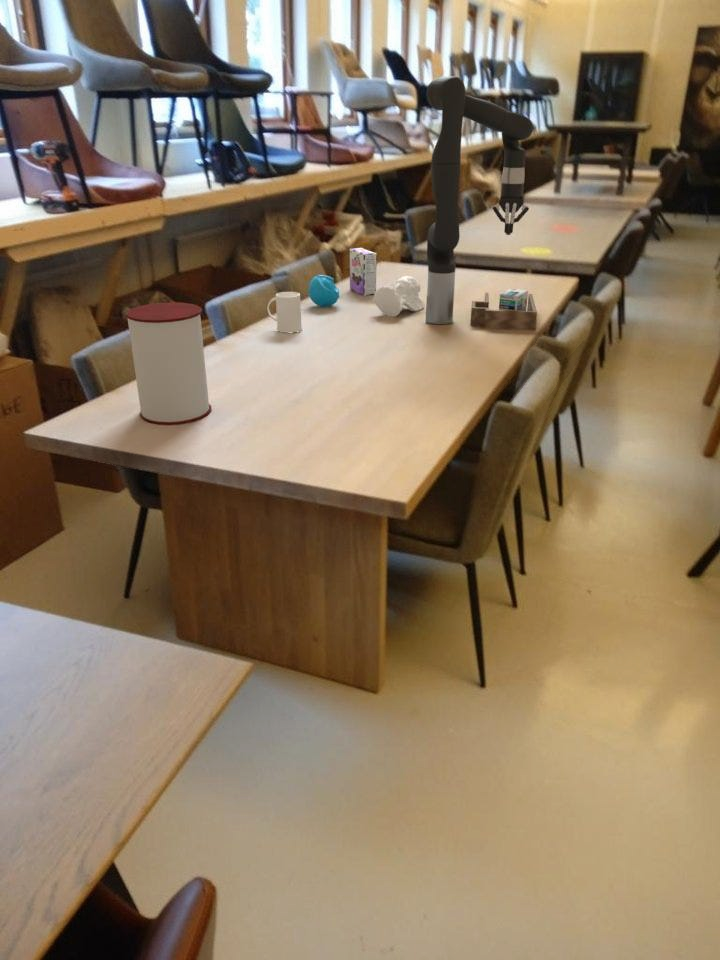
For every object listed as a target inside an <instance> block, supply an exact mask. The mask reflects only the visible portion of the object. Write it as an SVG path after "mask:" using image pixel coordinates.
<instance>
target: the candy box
mask: <svg viewBox="0 0 720 960" xmlns="http://www.w3.org/2000/svg"><path fill="white" fill-rule="evenodd" d="M377 258H378V257H377V252H374V251H370V250H368V249H365V248H363V247H356V248H349V290H350V289H351V291H353V292H354V291H355V293H357V294H358V295H361V296H363V297H367V295H370V296H374V295H375V291H376V290H377Z"/></svg>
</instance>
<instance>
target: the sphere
mask: <svg viewBox="0 0 720 960" xmlns="http://www.w3.org/2000/svg"><path fill="white" fill-rule="evenodd" d="M334 280H335V279H334V278H333V277H331V276H329V275H325V274H318V275H315V276H314V277H313V278H312V279H311V281H310V282H309V285H308V295H309V299H310V300H311V301H312V303H313V304H315V305H316V306H319V307H323V308H328V307H331V306H333V305H335V304H336V303H337V302H338V300H339V298H340V290H339V288H338V287H337V286H336V284H335V283H334Z"/></svg>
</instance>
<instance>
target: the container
mask: <svg viewBox="0 0 720 960" xmlns="http://www.w3.org/2000/svg"><path fill="white" fill-rule="evenodd" d="M202 311H203V308H202V307H200V306H199V305H197V304H193V303H189V302H188V303H187V302H175V301H172V302H157V303H148V304H143V305H138V306H134V307H132V308H129V309H128V310H127V311H126V313H125V317H126V318H127V324H128V325H127V326H128V330H129V337H130V343H131V351H132V358H133V365H134V371H135V380H136V387H137V392H138V393H137V395H138V400H139V406H140V409H139V410H140V412H139V416H140V418H141V419H142V420H143V421H145V422H147V423H149V424H153V425H154V424H155V425H163V426H173V425H183V424H188V423H190V424H191V423H194V422H197V421H199V420H202V419H204V418H206V417H207V416H209V415H210V413H212V405H211V404H210V402H209V392H208V391H209V390H208V380H207V371H206V370H207V368H206V359H205V348H204V341H203V330H202V320H201V319H202V318H201V314H202V313H203V312H202Z"/></svg>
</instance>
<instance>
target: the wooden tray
mask: <svg viewBox="0 0 720 960" xmlns="http://www.w3.org/2000/svg"><path fill="white" fill-rule="evenodd" d="M489 295H490V293H489V292H485V293H484V301H482V300H472V301H471V307H470V308H471V309H470V326H472V327H473V326H474V327H475V326H478V327H484V329H492V330H493V329H494V330H495V329H496V330H497V329H498V330H521V331H523V330H524V331H536V327H537V317H538V316H537V315H538V309H537V308H536V304H535V300H534V296H533V294H531V293H528V298H527V308H526V311H509V310H499V309H490V307H489V304H490V300H489V299H490V297H489Z"/></svg>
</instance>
